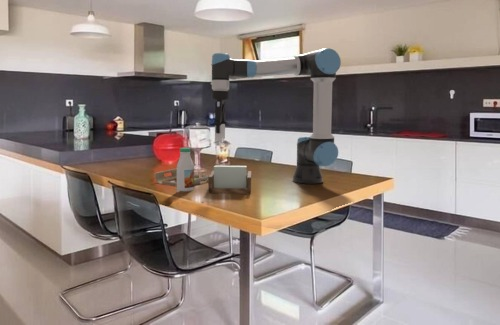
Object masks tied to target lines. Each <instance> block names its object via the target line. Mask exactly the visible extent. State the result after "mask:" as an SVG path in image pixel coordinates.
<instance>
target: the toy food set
mask: <svg viewBox="0 0 500 325" xmlns="http://www.w3.org/2000/svg"><path fill="white" fill-rule="evenodd" d="M169 173H171V175H169V176H168V175H167V176H165V174H169ZM153 175H154V176H153V177H154V179H155V182H156V183H157V184H158V185H159V184H160V185H165V186H166V185H167V186H171V185H172V187H173V186H174V187H177V168H172V169H168V170H167V169H166V170H163V171H158V172H154V174H153ZM208 177H209V175H207V174H202V175H201V177H200V175H199V174H198V173H196V174H195V173H194V186H195V185H196V186H197V185H199V184H201V183H202V181H206V183H209V178H208Z"/></svg>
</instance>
